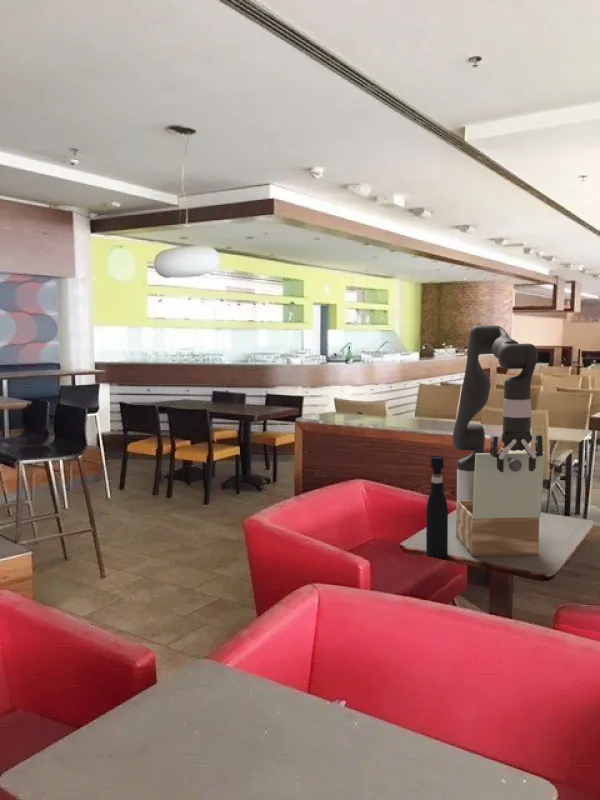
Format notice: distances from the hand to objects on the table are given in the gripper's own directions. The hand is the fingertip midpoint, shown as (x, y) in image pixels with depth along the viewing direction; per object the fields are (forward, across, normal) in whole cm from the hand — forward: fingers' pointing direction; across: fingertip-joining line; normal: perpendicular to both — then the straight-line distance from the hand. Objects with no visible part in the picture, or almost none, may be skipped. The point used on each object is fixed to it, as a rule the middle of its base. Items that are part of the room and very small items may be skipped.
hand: (516, 471), depth 196 cm
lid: (+6, 0, -7) cm, 9 cm away
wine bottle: (+28, +20, -12) cm, 36 cm away
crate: (+28, 0, -18) cm, 33 cm away
